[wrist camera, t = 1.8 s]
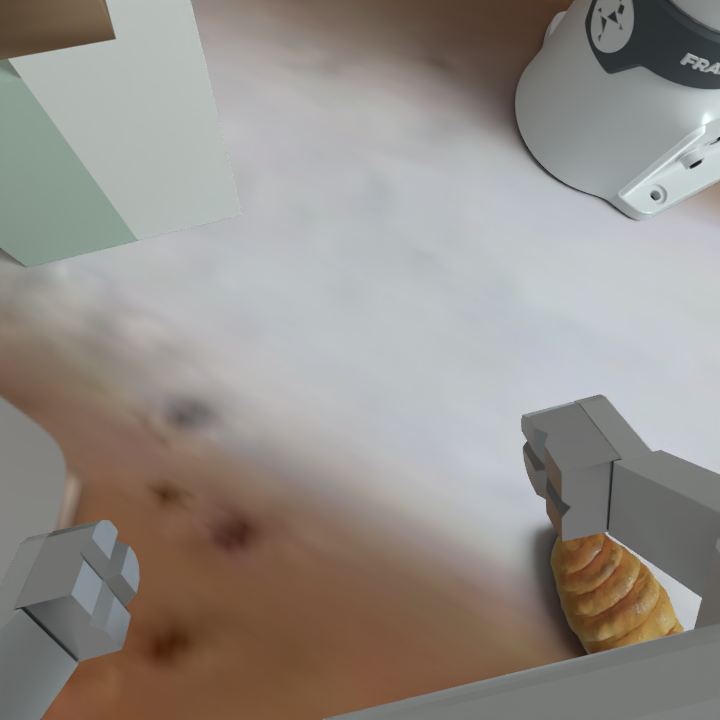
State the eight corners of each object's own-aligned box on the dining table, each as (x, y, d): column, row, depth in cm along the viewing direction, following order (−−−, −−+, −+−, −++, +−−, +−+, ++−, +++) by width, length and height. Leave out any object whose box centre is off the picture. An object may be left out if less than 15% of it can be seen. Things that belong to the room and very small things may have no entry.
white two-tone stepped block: (196, 63, 41) (26, -586, 16) (242, 215, 39) (129, -256, 14) (-10, 103, 39) (-595, -584, 14) (27, 267, 37) (-587, -186, 11)
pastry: (518, 558, 36) (543, 568, 33) (592, 502, 38) (624, 505, 34) (600, 683, 35) (635, 708, 32) (674, 620, 37) (716, 637, 33)
